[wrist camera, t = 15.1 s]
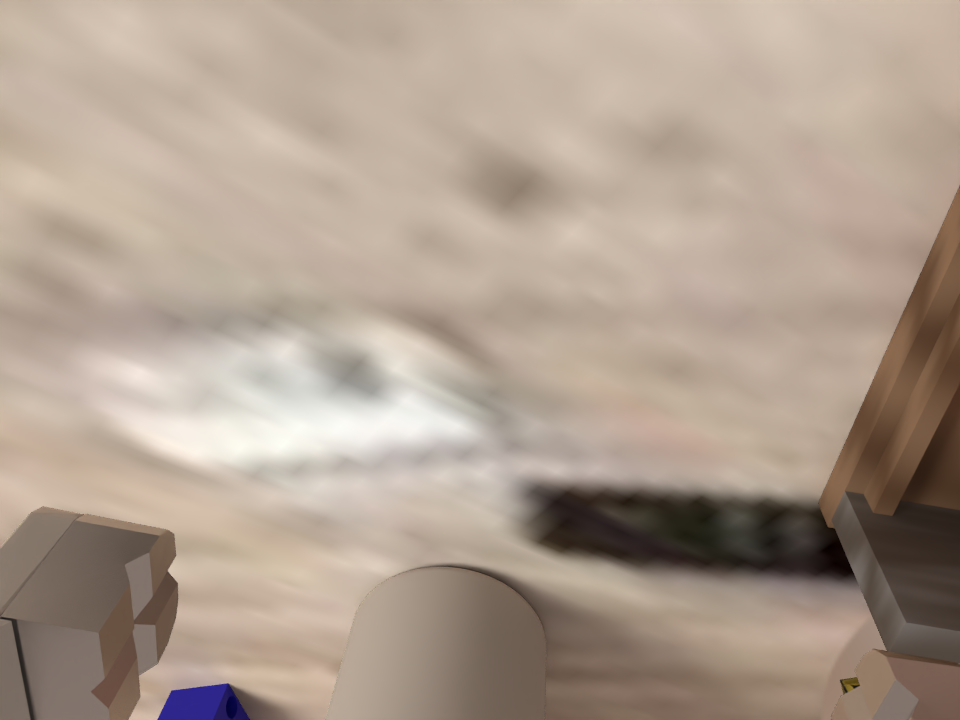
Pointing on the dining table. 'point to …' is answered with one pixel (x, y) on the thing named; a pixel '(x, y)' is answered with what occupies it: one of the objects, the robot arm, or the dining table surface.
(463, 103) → the dining table surface
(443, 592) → the cylinder vase
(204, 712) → the cable clip
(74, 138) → the dining table surface
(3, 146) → the dining table surface
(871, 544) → the holder
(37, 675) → the robot arm
